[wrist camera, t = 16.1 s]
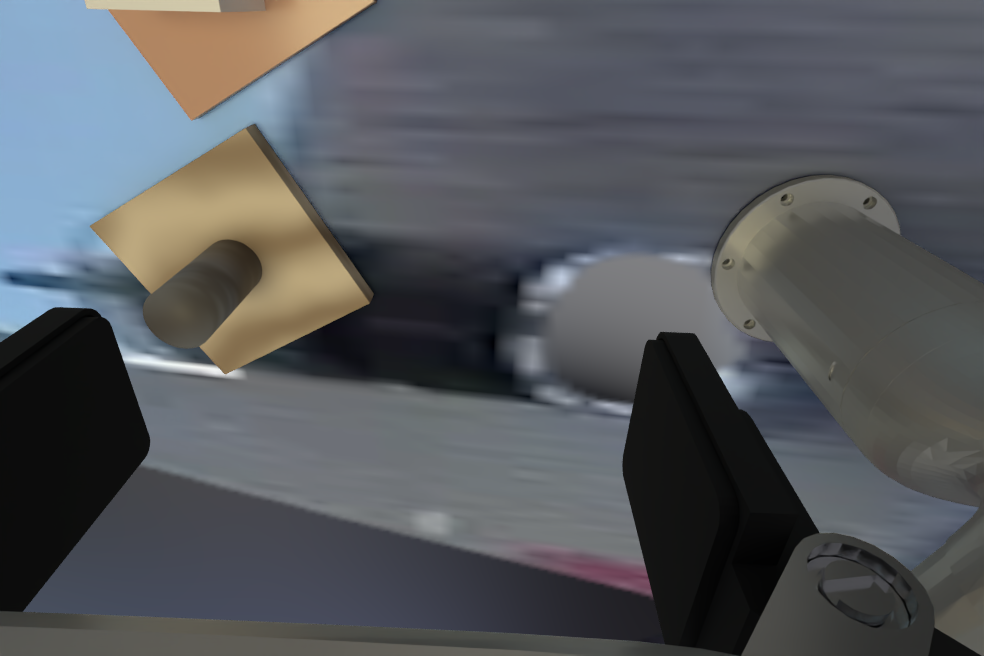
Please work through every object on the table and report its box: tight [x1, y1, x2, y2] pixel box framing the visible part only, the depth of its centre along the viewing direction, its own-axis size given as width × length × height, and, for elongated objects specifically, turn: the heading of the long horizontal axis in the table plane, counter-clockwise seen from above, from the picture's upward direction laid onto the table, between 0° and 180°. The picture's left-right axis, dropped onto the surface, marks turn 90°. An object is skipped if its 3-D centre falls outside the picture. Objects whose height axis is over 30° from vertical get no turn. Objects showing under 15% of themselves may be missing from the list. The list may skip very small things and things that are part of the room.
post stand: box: [90, 124, 374, 374], centre depth 38 cm, size 14×14×10 cm
